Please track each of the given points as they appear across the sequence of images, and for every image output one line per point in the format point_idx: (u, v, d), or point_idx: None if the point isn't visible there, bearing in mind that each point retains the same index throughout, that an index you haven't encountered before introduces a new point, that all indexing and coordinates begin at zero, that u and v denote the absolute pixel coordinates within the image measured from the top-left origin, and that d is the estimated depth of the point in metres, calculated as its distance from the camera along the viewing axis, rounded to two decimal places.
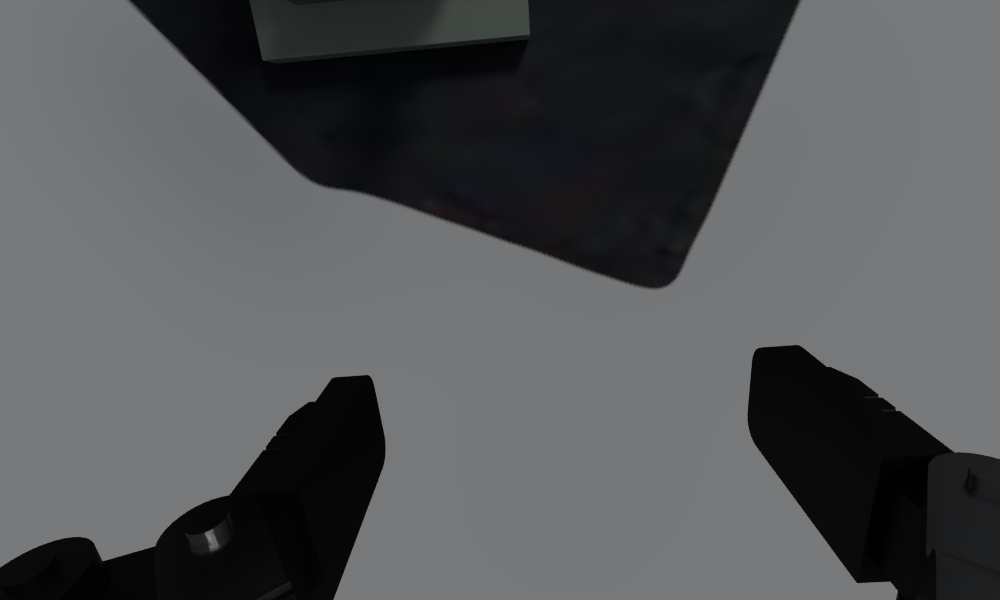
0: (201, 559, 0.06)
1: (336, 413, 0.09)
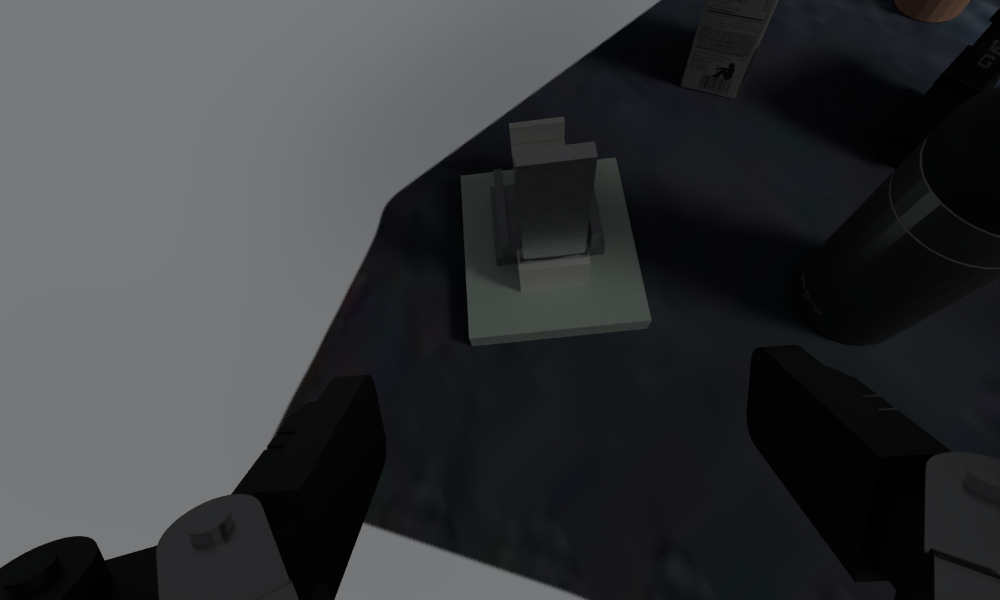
0: (203, 558, 0.06)
1: (337, 413, 0.09)
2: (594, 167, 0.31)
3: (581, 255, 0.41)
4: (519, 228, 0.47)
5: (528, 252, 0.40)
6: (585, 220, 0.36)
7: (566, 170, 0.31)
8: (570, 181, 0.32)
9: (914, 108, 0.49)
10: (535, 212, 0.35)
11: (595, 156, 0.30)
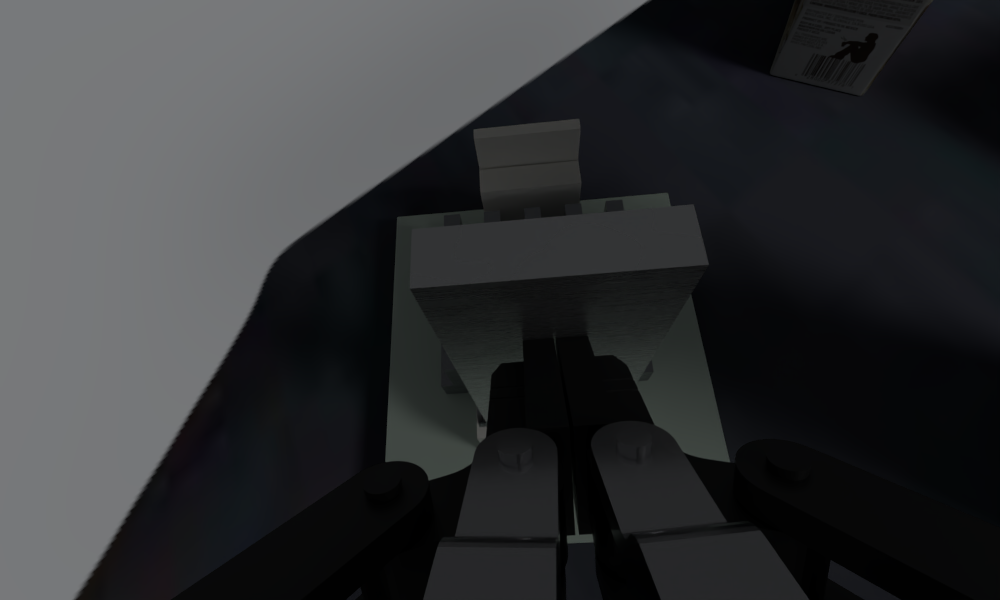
0: (530, 476, 0.07)
1: (551, 368, 0.10)
2: (687, 290, 0.09)
3: None
4: None
5: None
6: None
7: (591, 297, 0.09)
8: (601, 319, 0.10)
9: None
10: None
11: (700, 262, 0.08)
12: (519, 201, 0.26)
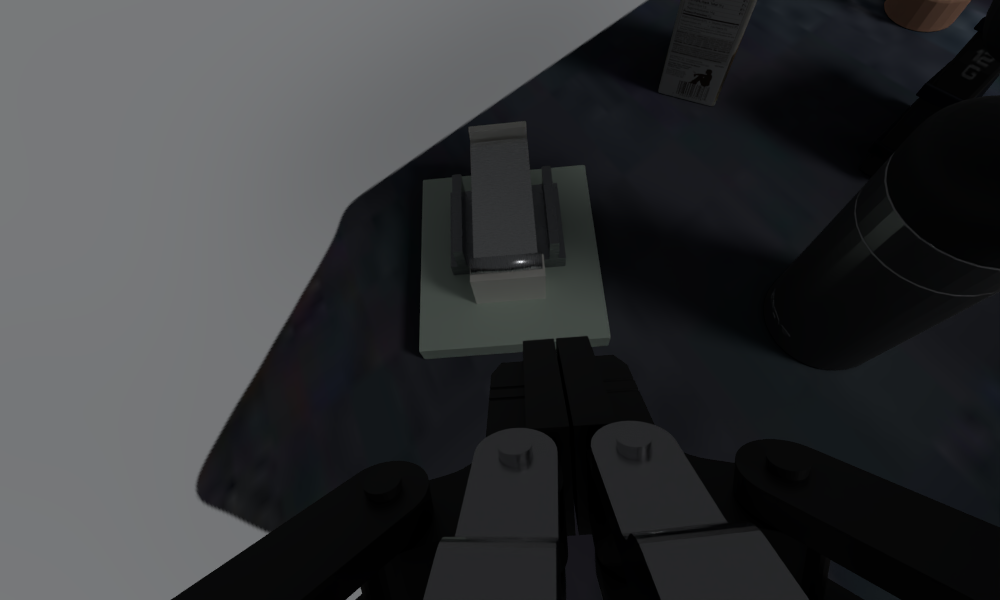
0: (530, 476, 0.07)
1: (551, 368, 0.10)
2: (526, 145, 0.43)
3: (534, 254, 0.38)
4: None
5: (478, 246, 0.39)
6: (529, 202, 0.41)
7: (506, 147, 0.43)
8: (510, 157, 0.43)
9: (898, 120, 0.46)
10: (484, 188, 0.42)
11: (525, 138, 0.44)
12: None
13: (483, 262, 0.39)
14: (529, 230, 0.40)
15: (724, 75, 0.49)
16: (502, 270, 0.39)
